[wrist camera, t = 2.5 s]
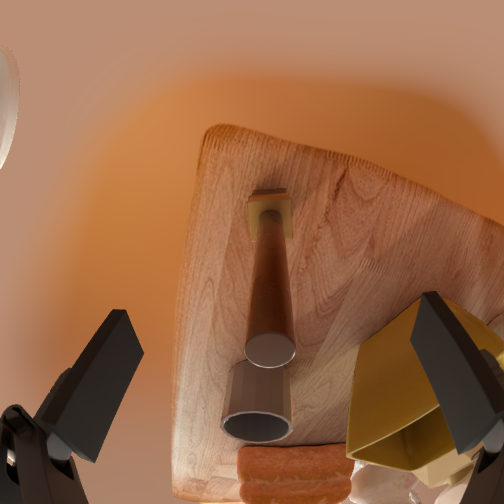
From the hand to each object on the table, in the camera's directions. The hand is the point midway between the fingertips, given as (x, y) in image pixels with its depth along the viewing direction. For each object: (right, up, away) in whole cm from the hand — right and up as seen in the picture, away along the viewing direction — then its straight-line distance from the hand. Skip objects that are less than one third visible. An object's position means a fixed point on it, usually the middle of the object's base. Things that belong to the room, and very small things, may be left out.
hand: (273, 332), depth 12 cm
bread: (+9, -43, +41) cm, 60 cm away
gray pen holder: (0, -16, +28) cm, 32 cm away
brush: (+1, +8, +17) cm, 19 cm away
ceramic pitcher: (+35, -52, +43) cm, 76 cm away
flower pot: (+22, -9, +24) cm, 34 cm away
